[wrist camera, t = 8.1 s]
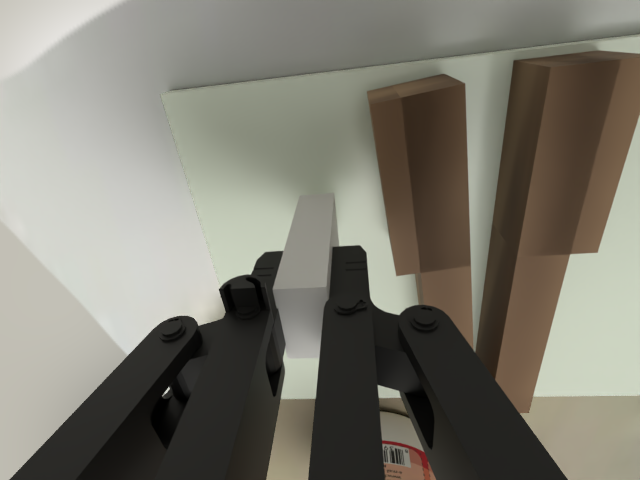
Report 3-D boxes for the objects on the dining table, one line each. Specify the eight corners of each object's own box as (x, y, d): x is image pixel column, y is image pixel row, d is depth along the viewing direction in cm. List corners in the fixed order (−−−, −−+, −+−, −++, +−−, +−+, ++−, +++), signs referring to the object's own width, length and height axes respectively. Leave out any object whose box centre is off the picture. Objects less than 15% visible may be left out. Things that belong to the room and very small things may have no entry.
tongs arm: (444, 73, 14) (465, 83, 11) (461, 373, 22) (475, 418, 19) (366, 91, 15) (369, 104, 12) (410, 377, 23) (418, 422, 20)
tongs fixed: (599, 50, 13) (696, 58, 10) (518, 394, 23) (552, 466, 19) (483, 63, 14) (532, 76, 10) (452, 395, 24) (471, 465, 20)
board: (911, 0, 13) (951, -1, 12) (693, 380, 23) (706, 394, 22) (170, 90, 16) (159, 94, 15) (258, 387, 26) (255, 399, 25)
